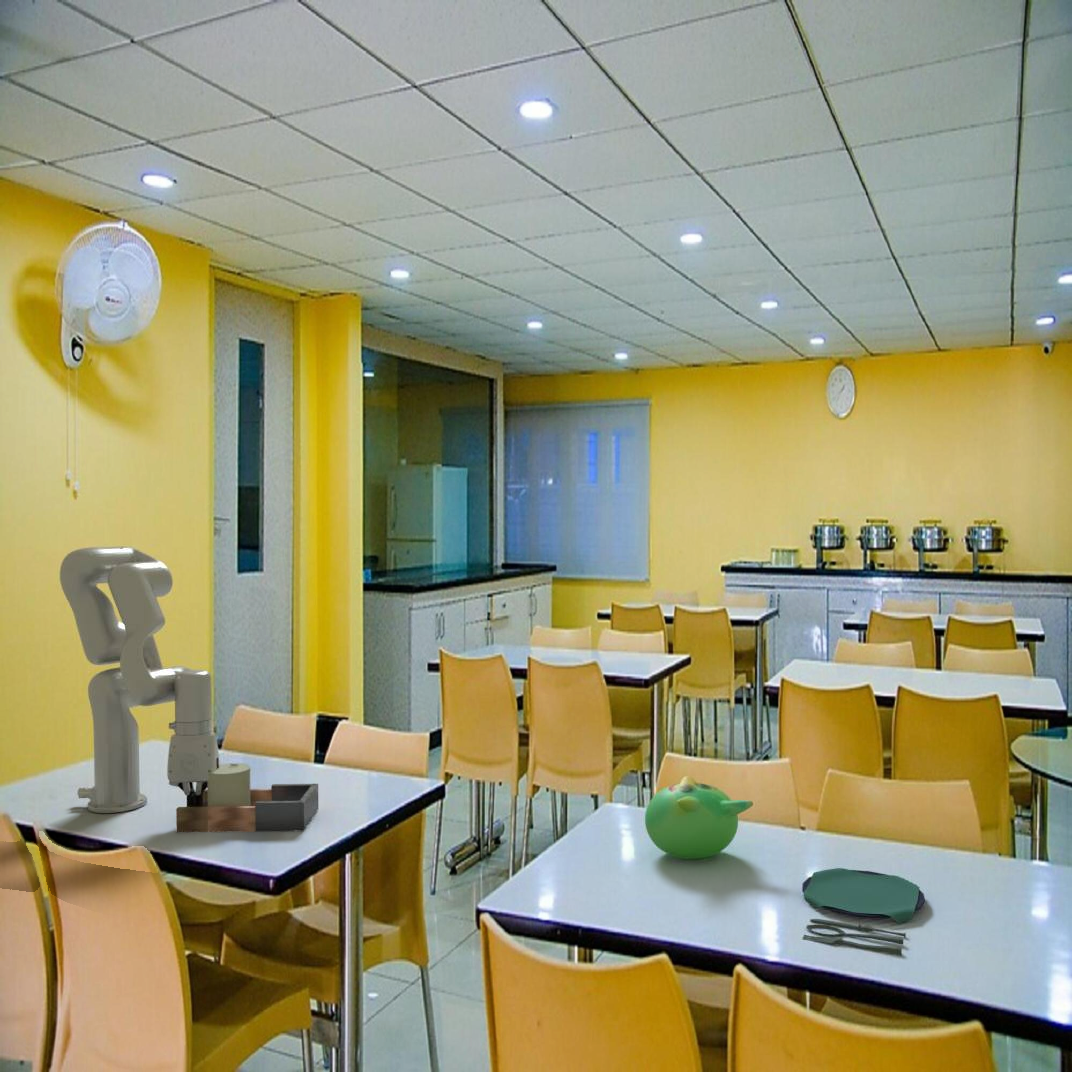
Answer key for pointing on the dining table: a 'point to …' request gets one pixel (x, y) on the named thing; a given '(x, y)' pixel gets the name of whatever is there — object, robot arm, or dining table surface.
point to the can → (229, 785)
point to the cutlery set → (861, 903)
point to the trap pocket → (287, 808)
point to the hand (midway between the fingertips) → (194, 811)
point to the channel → (220, 815)
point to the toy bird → (693, 819)
